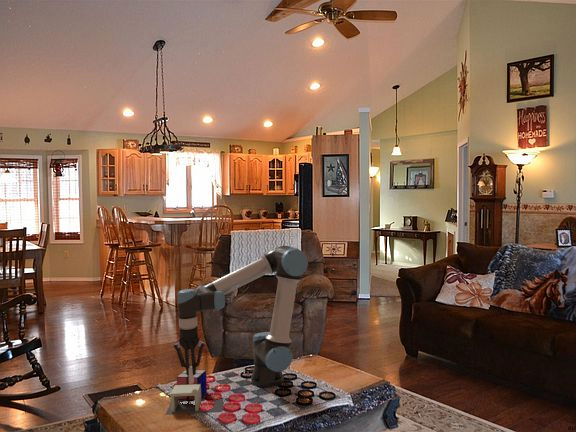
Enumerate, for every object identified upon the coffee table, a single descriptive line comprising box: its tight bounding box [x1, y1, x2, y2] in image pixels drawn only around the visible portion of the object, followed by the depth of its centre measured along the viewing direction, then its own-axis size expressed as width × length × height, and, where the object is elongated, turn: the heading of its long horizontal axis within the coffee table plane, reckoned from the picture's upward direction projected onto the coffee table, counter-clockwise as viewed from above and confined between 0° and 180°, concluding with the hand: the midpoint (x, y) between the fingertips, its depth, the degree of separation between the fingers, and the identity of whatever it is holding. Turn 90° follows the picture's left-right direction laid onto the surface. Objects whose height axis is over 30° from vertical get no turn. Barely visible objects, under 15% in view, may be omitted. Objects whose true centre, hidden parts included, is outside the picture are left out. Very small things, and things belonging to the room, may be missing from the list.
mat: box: [164, 398, 226, 416], centre depth 218 cm, size 23×13×1 cm, turn 91°
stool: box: [169, 384, 202, 412], centre depth 217 cm, size 8×9×11 cm
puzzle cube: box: [176, 369, 208, 401], centre depth 229 cm, size 10×10×10 cm
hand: (191, 382), depth 217 cm, fingers closed
